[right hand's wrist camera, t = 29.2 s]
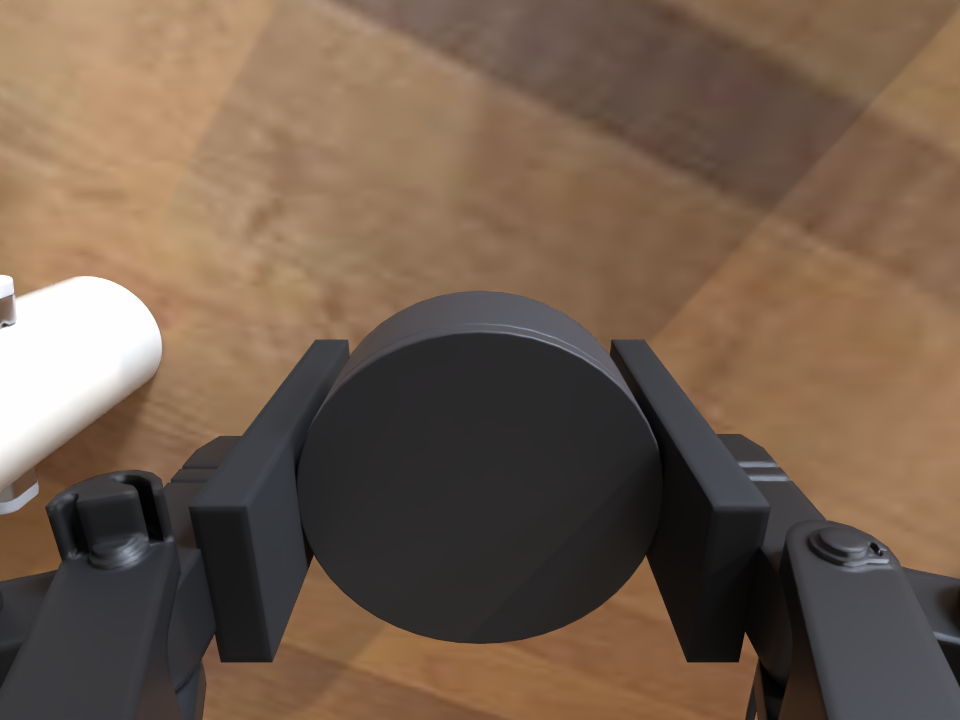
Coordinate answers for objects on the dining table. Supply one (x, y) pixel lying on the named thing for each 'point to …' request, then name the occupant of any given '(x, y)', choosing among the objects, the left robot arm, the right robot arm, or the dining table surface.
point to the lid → (480, 471)
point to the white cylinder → (69, 365)
